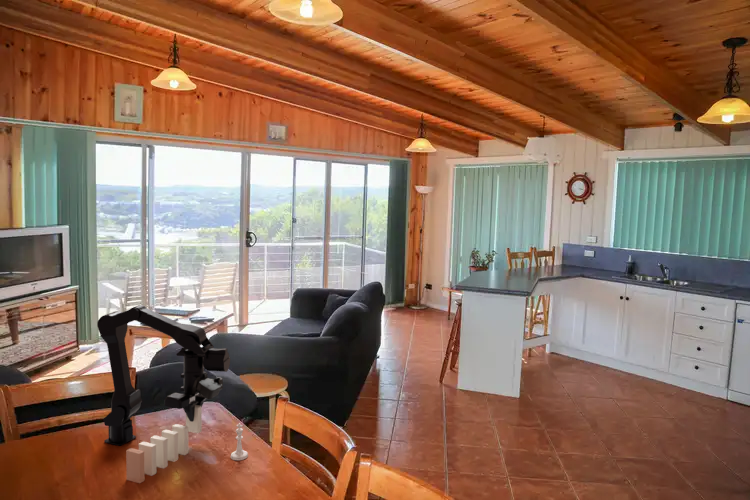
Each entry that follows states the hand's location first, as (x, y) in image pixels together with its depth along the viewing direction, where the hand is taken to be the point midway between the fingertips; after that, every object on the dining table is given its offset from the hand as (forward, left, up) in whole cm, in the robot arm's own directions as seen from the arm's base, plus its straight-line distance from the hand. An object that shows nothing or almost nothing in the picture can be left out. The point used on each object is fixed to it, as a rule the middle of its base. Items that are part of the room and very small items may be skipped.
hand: (193, 420), depth 158 cm
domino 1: (0, -23, -8) cm, 24 cm away
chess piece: (+17, -1, -8) cm, 19 cm away
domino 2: (0, -19, -8) cm, 20 cm away
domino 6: (0, 0, -4) cm, 4 cm away
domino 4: (0, -10, -8) cm, 13 cm away
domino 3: (0, -14, -8) cm, 16 cm away
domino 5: (0, -6, -8) cm, 10 cm away
